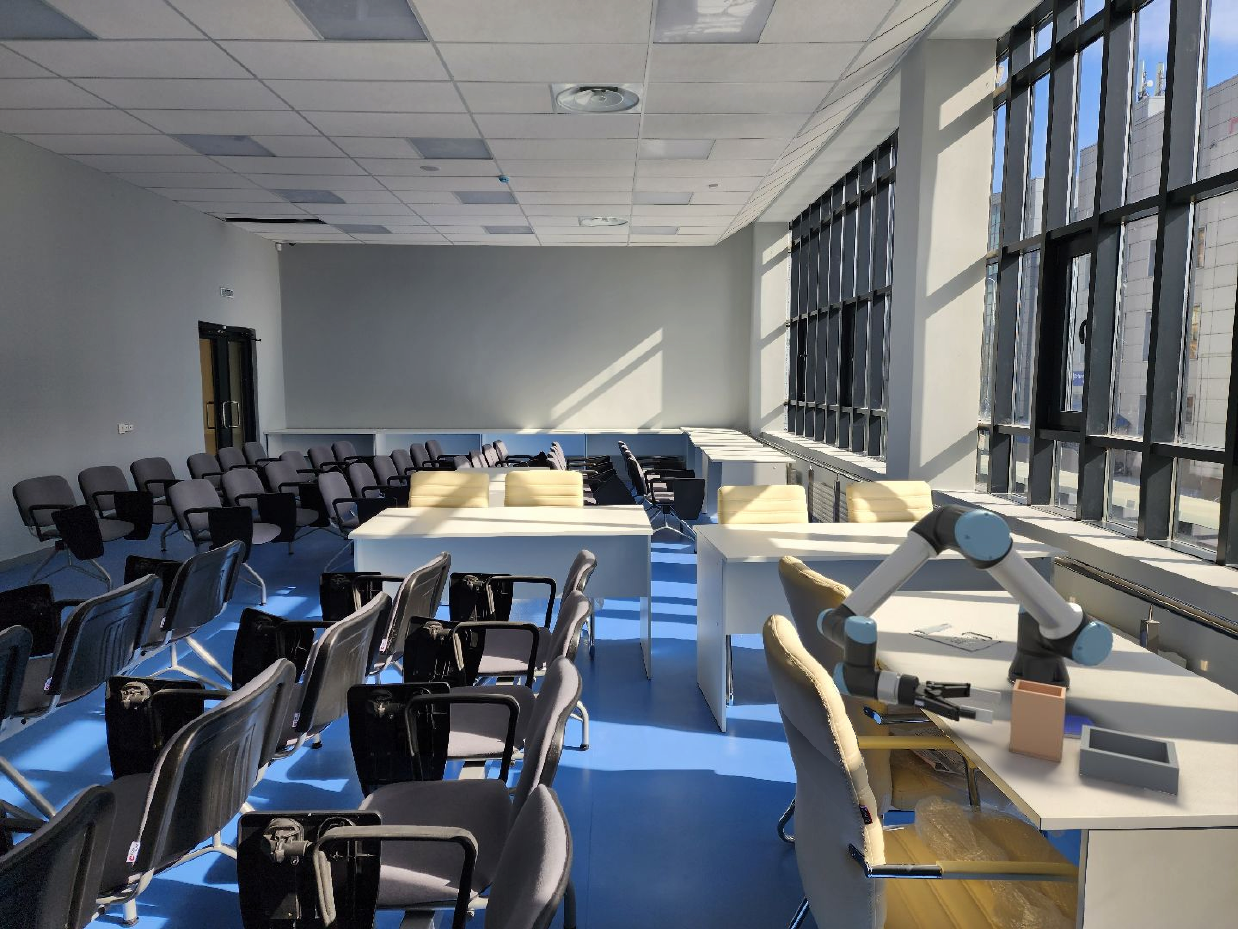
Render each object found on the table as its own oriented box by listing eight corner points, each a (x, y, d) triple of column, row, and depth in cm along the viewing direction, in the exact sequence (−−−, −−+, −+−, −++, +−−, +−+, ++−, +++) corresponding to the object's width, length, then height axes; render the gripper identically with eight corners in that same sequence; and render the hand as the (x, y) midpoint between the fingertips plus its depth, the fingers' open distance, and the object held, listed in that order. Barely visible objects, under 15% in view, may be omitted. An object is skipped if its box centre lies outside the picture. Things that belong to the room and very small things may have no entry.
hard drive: (1103, 736, 187) (1088, 717, 199) (1064, 732, 189) (1051, 713, 201) (1103, 743, 187) (1088, 723, 199) (1063, 738, 189) (1051, 719, 201)
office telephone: (908, 628, 272) (944, 619, 283) (907, 635, 272) (944, 627, 283) (972, 645, 253) (1008, 635, 264) (972, 653, 253) (1008, 643, 264)
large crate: (1081, 748, 183) (1082, 724, 182) (1172, 767, 174) (1174, 742, 174) (1078, 774, 170) (1080, 748, 169) (1177, 795, 161) (1179, 768, 161)
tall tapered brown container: (1013, 738, 188) (1016, 679, 186) (1062, 749, 182) (1066, 687, 181) (1009, 751, 181) (1012, 689, 180) (1060, 762, 176) (1064, 698, 174)
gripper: (910, 689, 207) (1002, 706, 196) (886, 721, 186) (988, 743, 175) (911, 660, 206) (1003, 676, 195) (887, 689, 185) (990, 709, 174)
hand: (996, 707), depth 185 cm, fingers open, 13 cm apart
